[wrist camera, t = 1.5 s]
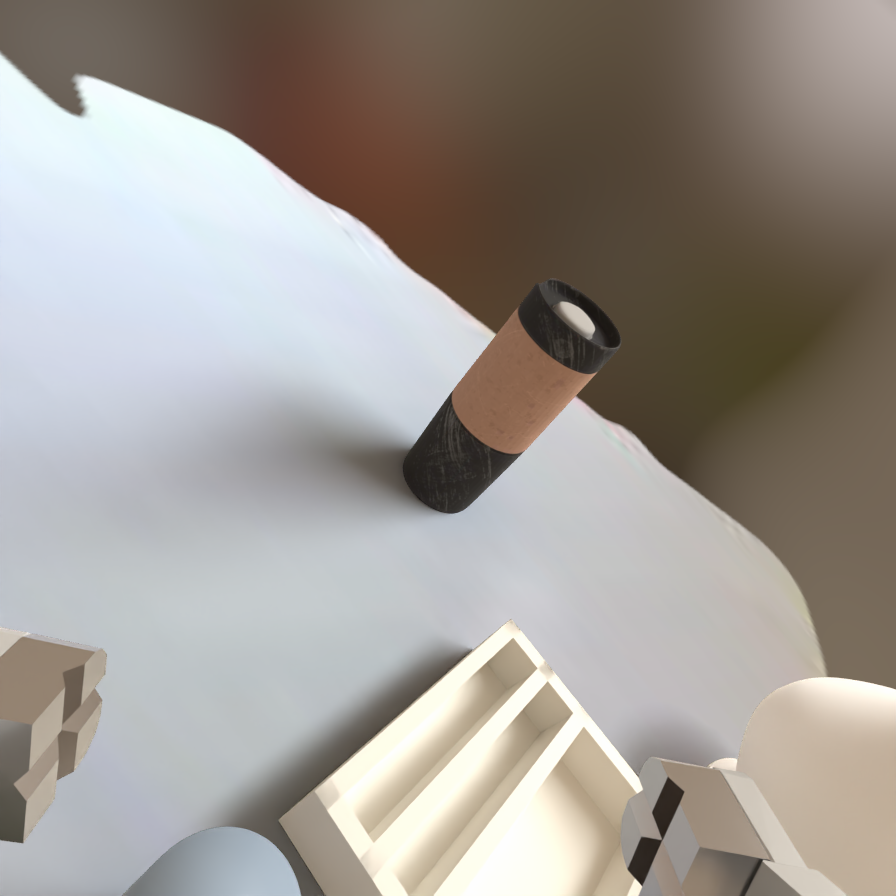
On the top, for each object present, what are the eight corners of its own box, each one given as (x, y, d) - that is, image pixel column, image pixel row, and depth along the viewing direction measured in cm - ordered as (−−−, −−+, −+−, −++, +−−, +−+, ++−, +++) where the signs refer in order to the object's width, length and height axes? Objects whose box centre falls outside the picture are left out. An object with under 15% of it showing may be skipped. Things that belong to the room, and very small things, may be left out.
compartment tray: (278, 820, 32) (314, 791, 29) (474, 649, 46) (511, 618, 43) (477, 1138, 28) (541, 1139, 25) (625, 845, 42) (677, 826, 39)
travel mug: (480, 524, 55) (637, 364, 44) (404, 505, 52) (554, 326, 40) (465, 459, 60) (603, 300, 49) (395, 438, 57) (526, 261, 45)
